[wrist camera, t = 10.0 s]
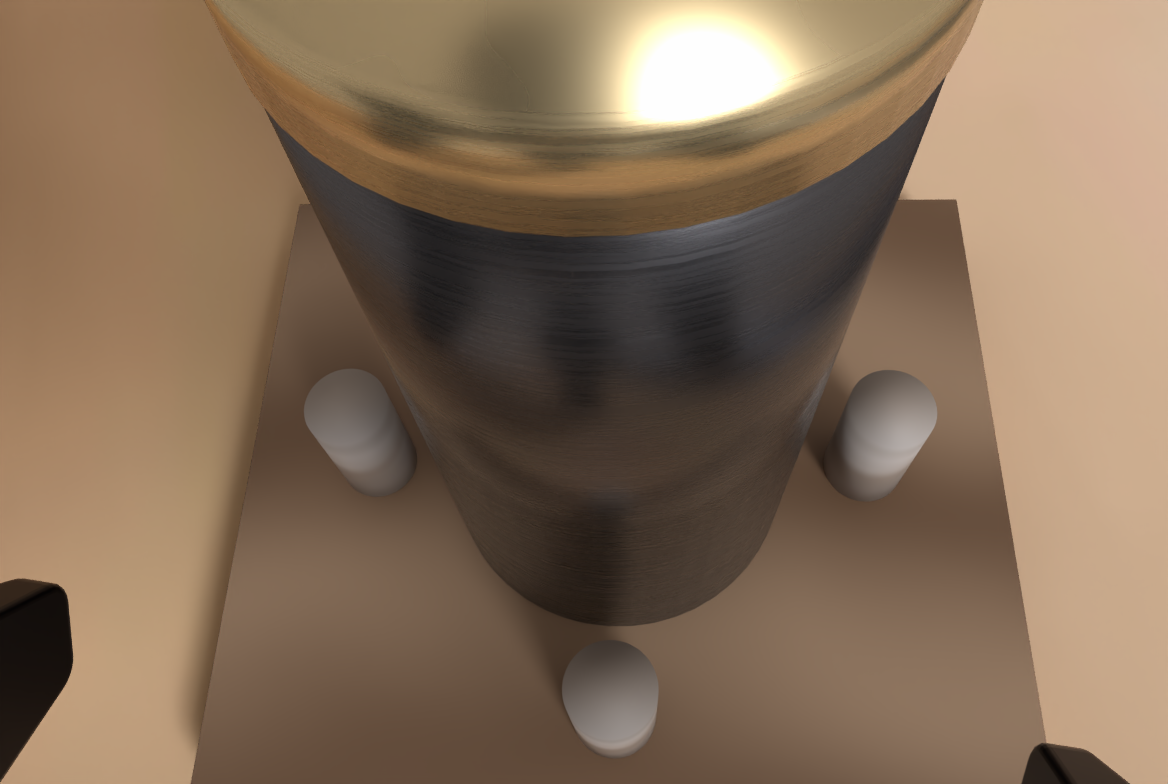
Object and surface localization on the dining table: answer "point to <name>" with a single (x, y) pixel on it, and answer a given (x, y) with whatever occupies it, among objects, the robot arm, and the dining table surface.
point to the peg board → (643, 652)
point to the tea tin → (605, 249)
